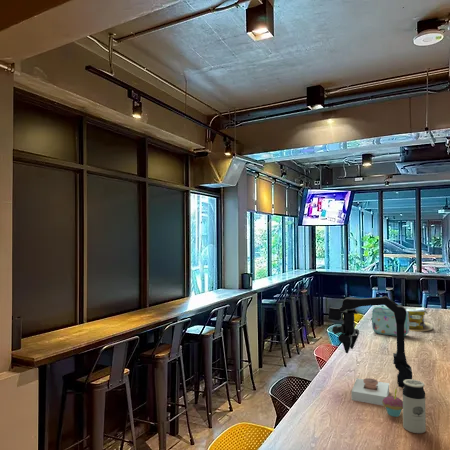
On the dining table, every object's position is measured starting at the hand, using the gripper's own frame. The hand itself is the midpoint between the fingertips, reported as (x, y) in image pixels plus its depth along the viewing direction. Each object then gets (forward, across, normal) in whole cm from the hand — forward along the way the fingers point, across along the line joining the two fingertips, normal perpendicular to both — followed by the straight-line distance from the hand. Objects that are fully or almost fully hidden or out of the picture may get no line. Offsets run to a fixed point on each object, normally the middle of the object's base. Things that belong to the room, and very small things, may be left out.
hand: (349, 351), depth 208 cm
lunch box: (+15, -109, 0) cm, 110 cm away
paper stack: (+15, -142, +14) cm, 143 cm away
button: (+11, +17, +15) cm, 26 cm away
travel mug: (+15, +41, +36) cm, 57 cm away
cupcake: (+15, +32, +27) cm, 44 cm away
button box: (+14, +18, +15) cm, 27 cm away
